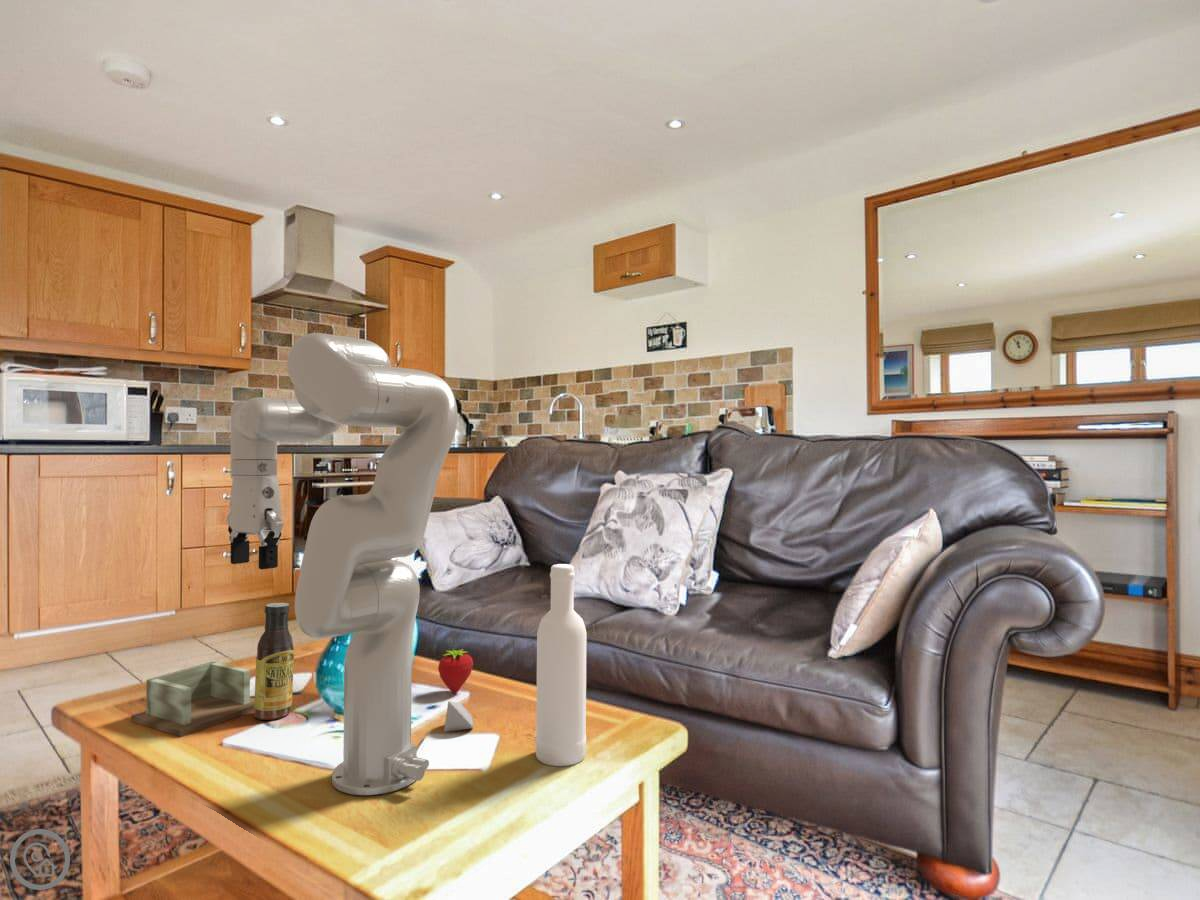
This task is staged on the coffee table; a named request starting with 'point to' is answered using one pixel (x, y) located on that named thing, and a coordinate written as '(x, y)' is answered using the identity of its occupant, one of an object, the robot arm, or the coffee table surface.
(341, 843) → the coffee table surface
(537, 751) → the bottle
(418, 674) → the coffee table surface
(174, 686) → the rest
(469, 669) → the strawberry
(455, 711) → the grey pyramid
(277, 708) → the sauce bottle
